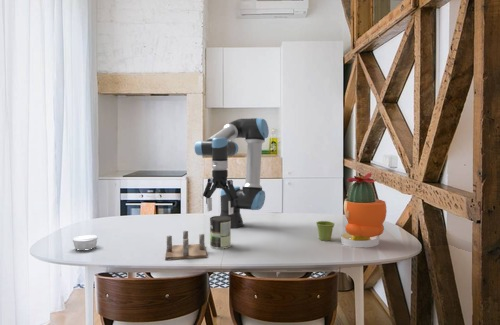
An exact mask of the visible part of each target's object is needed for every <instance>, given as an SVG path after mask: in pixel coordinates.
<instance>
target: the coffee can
mask: <svg viewBox="0 0 500 325" xmlns="http://www.w3.org/2000/svg"><path fill="white" fill-rule="evenodd" d="M209 222H210V223H209V225H210V226H209V227H210V228H209V232H210V233H209V236H210V237H209V240H210V241H209V242H210V245H209V247H210V248H211V249H216V250H223V249H224V248H225V249H228V247H229V248H230V247H232V245H231V241H232V240H231V239H232V238H231V230H232V228H231V217H228V216H220V215H213V216H211V217H209ZM225 249H224V250H225Z"/></svg>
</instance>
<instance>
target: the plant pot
mask: <svg viewBox="0 0 500 325" xmlns="http://www.w3.org/2000/svg"><path fill="white" fill-rule="evenodd" d="M315 224H316V227H317V231H318V232H317V233H318V240H320V241H325V242H327V241H331V240H332V235H333V230H334V226H335V223H334V221H333V222H332V221H328V220H321V221H317V222H316V223H315Z"/></svg>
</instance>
